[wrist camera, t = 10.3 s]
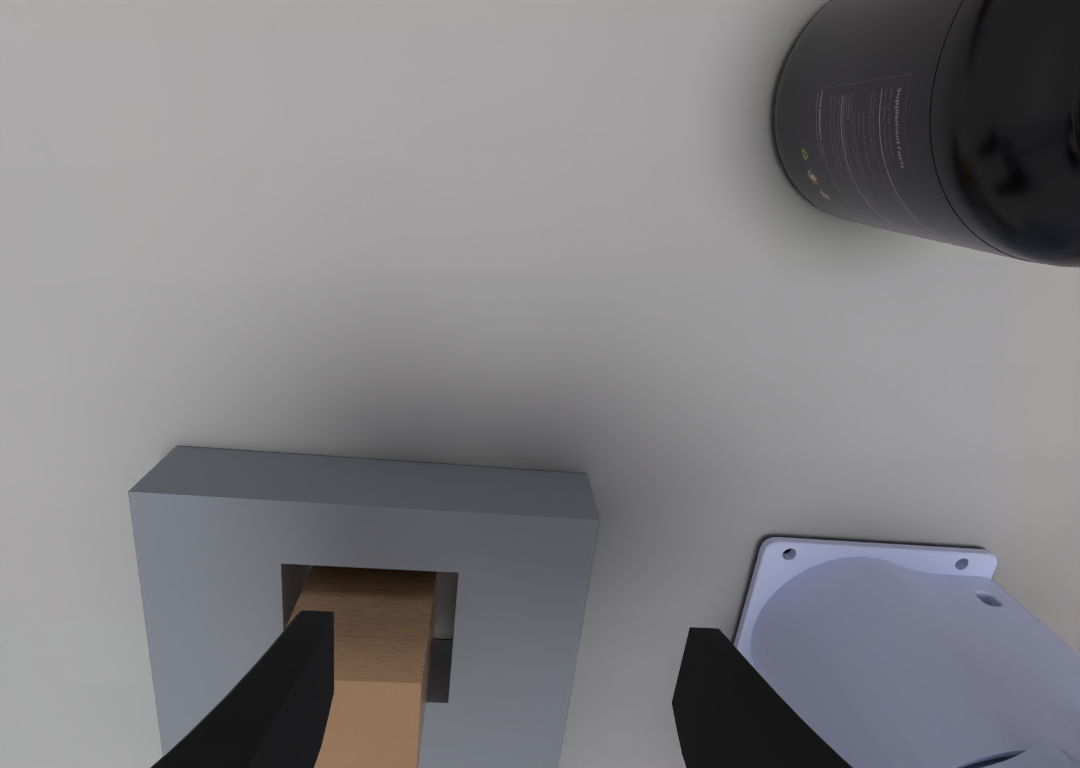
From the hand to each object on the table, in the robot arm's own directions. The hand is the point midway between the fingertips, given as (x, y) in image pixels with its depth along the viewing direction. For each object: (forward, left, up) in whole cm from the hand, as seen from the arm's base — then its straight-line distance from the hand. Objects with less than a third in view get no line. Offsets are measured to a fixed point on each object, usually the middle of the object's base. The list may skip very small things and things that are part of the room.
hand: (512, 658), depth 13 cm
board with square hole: (+4, +9, -10) cm, 14 cm away
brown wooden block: (+4, +6, -10) cm, 12 cm away
